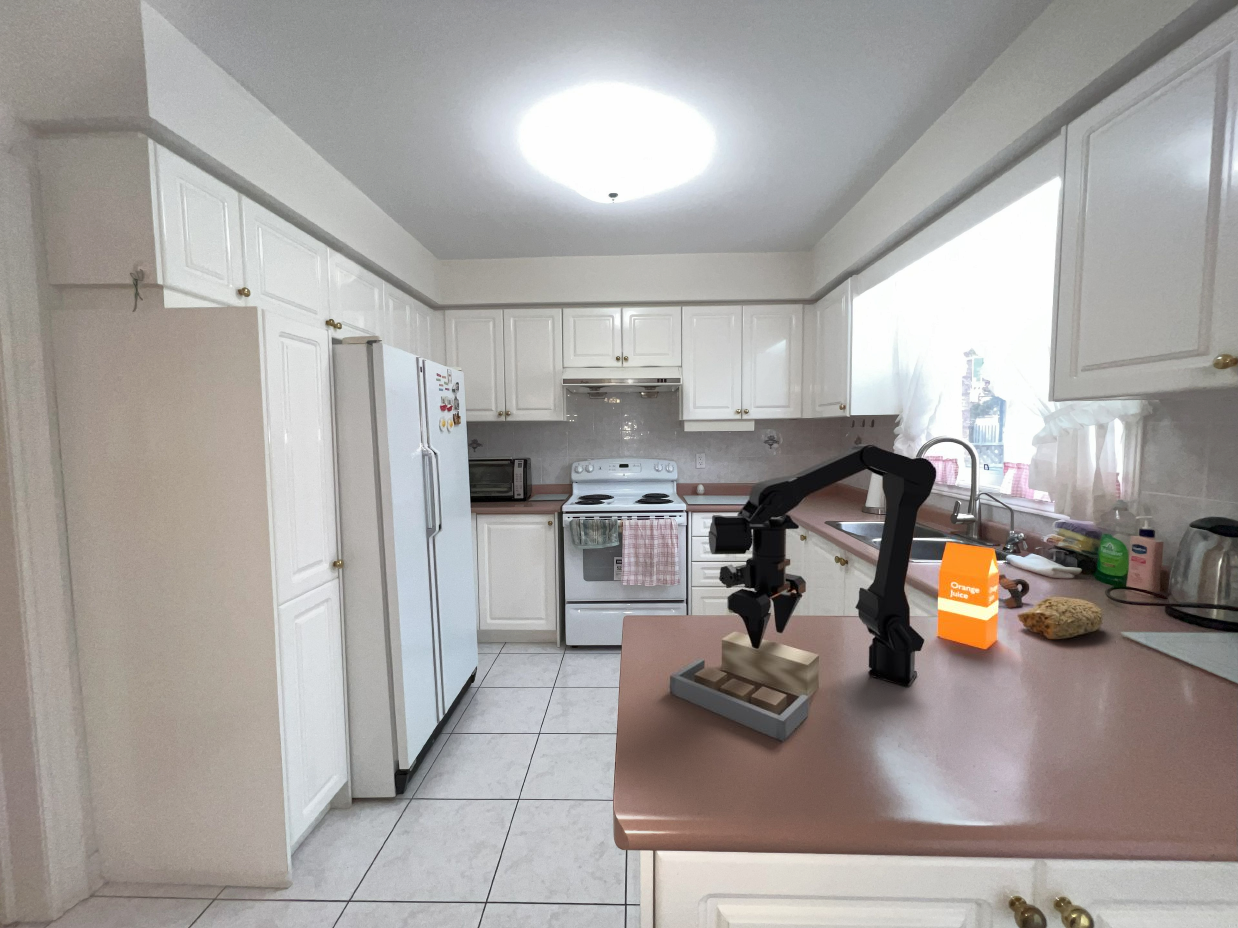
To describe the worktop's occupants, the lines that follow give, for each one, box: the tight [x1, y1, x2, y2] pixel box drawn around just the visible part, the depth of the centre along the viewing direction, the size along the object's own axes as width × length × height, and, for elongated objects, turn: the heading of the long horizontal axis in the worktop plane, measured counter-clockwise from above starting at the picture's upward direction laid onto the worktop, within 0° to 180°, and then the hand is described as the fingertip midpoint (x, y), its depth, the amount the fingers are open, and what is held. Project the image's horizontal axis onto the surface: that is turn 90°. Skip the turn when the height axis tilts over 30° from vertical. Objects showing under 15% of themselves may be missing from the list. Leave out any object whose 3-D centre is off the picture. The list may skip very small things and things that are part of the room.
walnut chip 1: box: [694, 666, 728, 692], centre depth 85 cm, size 4×4×3 cm
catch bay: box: [669, 658, 810, 742], centre depth 80 cm, size 20×9×3 cm, turn 47°
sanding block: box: [721, 631, 820, 698], centre depth 89 cm, size 16×5×6 cm, turn 48°
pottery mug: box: [999, 573, 1030, 609], centre depth 129 cm, size 12×10×8 cm
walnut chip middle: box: [720, 678, 756, 704], centre depth 80 cm, size 4×4×3 cm
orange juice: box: [937, 541, 1000, 650], centre depth 106 cm, size 8×9×20 cm
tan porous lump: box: [1017, 596, 1104, 640], centre depth 111 cm, size 13×8×20 cm
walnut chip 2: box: [751, 686, 788, 716], centre depth 78 cm, size 4×4×3 cm
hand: (768, 639), depth 89 cm, fingers open, 9 cm apart
